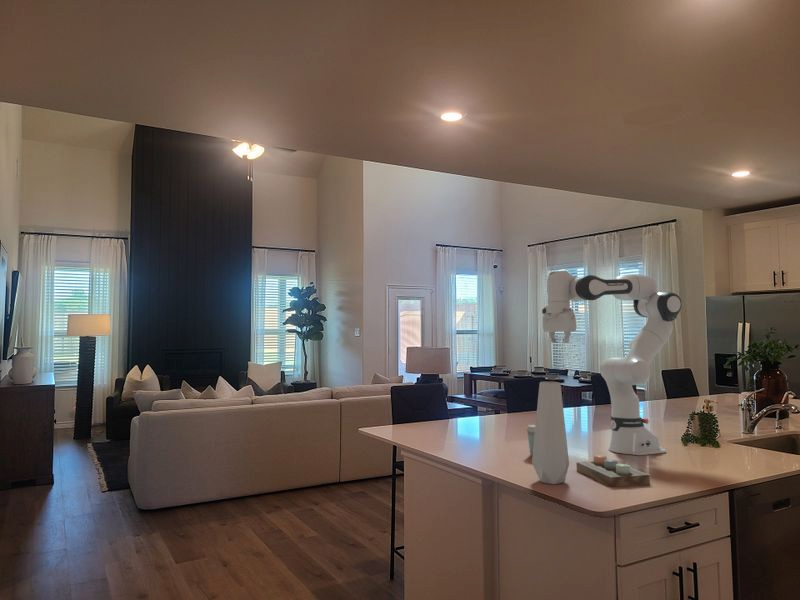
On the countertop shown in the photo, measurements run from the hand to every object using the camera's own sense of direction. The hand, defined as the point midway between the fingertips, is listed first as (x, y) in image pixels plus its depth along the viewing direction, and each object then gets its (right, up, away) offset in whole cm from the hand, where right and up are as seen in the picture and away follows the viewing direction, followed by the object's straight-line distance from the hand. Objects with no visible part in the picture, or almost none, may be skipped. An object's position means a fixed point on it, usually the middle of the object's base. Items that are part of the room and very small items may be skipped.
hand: (559, 342), depth 226 cm
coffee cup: (-9, -46, -2) cm, 47 cm away
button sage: (+9, -40, -43) cm, 59 cm away
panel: (+7, -43, -36) cm, 57 cm away
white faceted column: (-14, -43, -41) cm, 62 cm away
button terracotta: (+6, -41, -29) cm, 51 cm away
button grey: (+7, -41, -36) cm, 55 cm away
